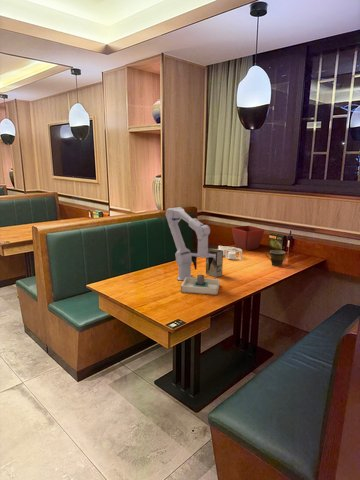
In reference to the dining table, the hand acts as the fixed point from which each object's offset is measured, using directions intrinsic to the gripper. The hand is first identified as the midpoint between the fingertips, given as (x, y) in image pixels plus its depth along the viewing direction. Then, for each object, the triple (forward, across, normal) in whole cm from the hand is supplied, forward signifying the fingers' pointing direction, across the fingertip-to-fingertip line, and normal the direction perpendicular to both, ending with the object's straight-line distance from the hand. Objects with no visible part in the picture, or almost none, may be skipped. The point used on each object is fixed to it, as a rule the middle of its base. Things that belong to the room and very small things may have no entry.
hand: (202, 269), depth 195 cm
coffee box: (+10, +5, +20) cm, 23 cm away
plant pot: (+10, +25, +91) cm, 95 cm away
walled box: (+9, 0, -6) cm, 11 cm away
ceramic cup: (+10, +44, +47) cm, 65 cm away
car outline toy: (+10, +12, +60) cm, 62 cm away
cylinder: (+9, 0, -6) cm, 11 cm away
